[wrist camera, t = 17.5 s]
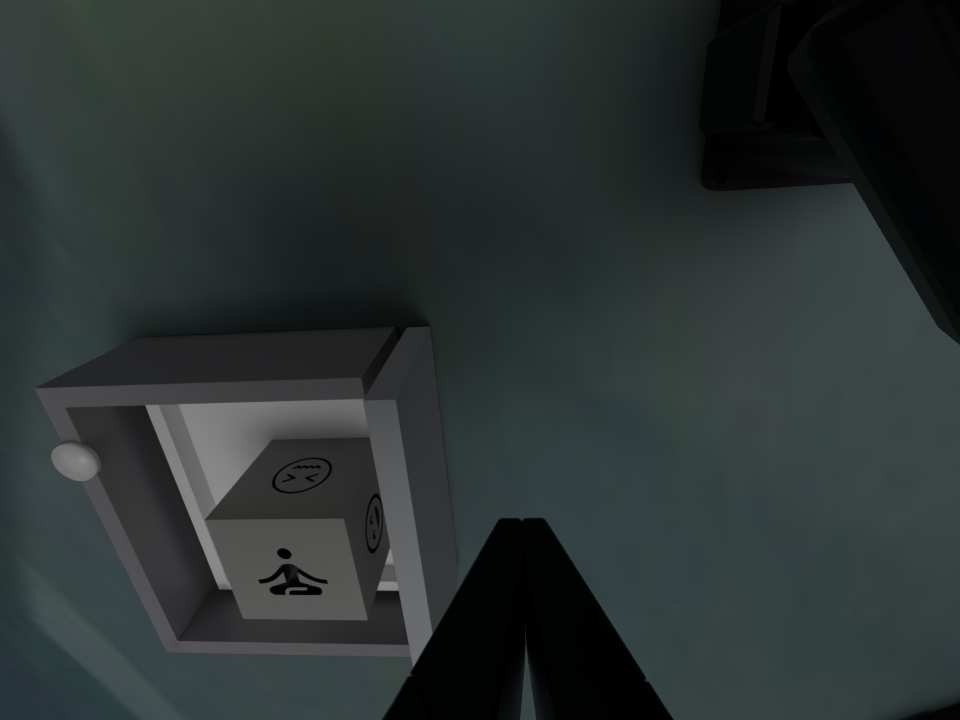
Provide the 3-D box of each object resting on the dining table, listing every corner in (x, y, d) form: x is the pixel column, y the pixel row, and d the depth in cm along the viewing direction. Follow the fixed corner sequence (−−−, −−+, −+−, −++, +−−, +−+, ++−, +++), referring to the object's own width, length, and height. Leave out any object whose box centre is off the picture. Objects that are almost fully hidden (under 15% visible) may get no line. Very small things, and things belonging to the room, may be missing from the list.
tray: (429, 326, 20) (395, 399, 14) (458, 570, 25) (442, 695, 20) (167, 337, 21) (31, 409, 15) (250, 569, 26) (175, 688, 20)
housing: (395, 326, 20) (358, 381, 15) (430, 567, 26) (411, 663, 21) (129, 337, 21) (16, 392, 16) (219, 566, 27) (154, 658, 22)
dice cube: (296, 526, 23) (243, 618, 18) (271, 439, 21) (204, 519, 16) (397, 525, 22) (367, 620, 18) (381, 437, 20) (343, 518, 16)
